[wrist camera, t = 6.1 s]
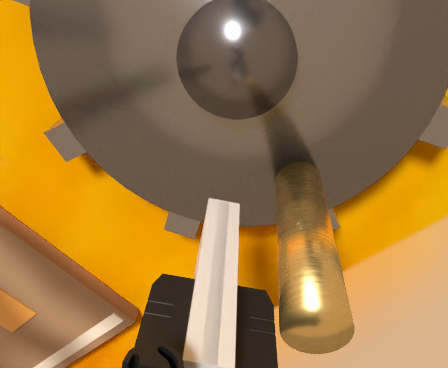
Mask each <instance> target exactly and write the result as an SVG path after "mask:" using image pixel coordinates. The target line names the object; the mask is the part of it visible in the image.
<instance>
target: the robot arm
mask: <svg viewBox="0 0 448 368" xmlns="http://www.w3.org/2000/svg"><path fill="white" fill-rule="evenodd" d="M239 210H240V204H239V203H233V202H228V201H223V200H218V199H212V198H209V199H208V204H207V210H206V215H205V220H204V225H203V230H202V235H201V240H200V245H199V251H198V256H197V262H196V268H195V274H194V279H190V278H185V277H179V276H173V275H167V274H162V275H161V276H160V277H159V278H158V279H157V280H156V281H155V282H154V283H153V285H152V287H151V291H150V294H149V298H148V302H147V305H146V308H145V312H144V315H143V319H142V322H141V326H140V329H139V333H138V336H137V340H136V343H135V347H134V348H132V349H131V350H130V351H129V352H128V353H127V355H126V357H125V358H124V360H123V363H122V368H278V363H277V350H276V336H275V324H274V308H273V303H272V302H271V300H270V298H269V296H268V294H267V292H266V291H265V290H259V289H253V288H247V287H242V286H237V278H238V244H239Z"/></svg>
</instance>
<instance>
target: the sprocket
mask: <svg viewBox="0 0 448 368" xmlns="http://www.w3.org/2000/svg"><path fill="white" fill-rule="evenodd" d="M13 1H16V2H19V3H22V4H25V5H28V6H30V19H31V27H32V34H33V42H34V46H35V50H36V54H37V58H38V62H39V66H40V70H41V73H42V75H43V78H44V80H45V83H46V86H47V88H48V91H49V94H50V96H51V98H52V100H53V102H54V104H55V106H56V108H57V110H58V111H59V113H60V115H61V117H62V119H60V120H59V121H57V122H56V123H55V124H54V125H53V126H52V127H50V128H49V129H48V130H47V131H46V132H45V133H44V134H45V135H46V136H47V138H48V139H49V140H50V142H51V143H52V144H53V145H54V147H55V148H56V149H57V151H58V152H59V153H60V154H61V156H62V157H63V158H64V160H65V161H66V162H67V161H69V160H71V159H73V158H75V157H78V156H80V155H82V154H84V153H86V152H87V153H88V154H89V156H90V157H91V158H92V159H93V160H94V161H95V162H96V163H97V164H98V165H99V166H100V167H101V168H102V169H103V170H105V171H106V172H107V173H108V174H109V175H110V176H111V177H113V178H114V179H115V180H116V181H118V182H119V183H120V184H122V185H123V186H124V187H125V188H127V189H128V190H130V191H132V192H133V193H135V194H136V195H138V196H140V197H141V198H143V199H144V200H146V201H148V202H150V203H152V204H154V205H156V206H158V207H160V208H162V209H164V210H167V211H169V214H168V218H167V221H166V224H165V228H164V230H167V231H170V232H173V233H176V234H180V235H183V236H186V237H189V238H193V239H195V236H196V233H197V230H198V228H199V225H200V222H201V221H202V222H204V220H205V215H206V210H207V204H208V199H209V198H212V199H218V200H223V201H228V202H233V203H239V204H240V210H239V226H263V225H274V224H276V225H277V259H278V293H279V326H280V334H281V337H282V339H283V340H284V341H285V342H286V343H287V344H288V345H289V346H290V347H292V348H294V349H296V350H298V351H301V352H305V353H311V354H323V353H329V352H333V351H336V350H338V349H340V348H342V347H343V346H345V345H346V344H347V343H348V342H349V341H350V340H351V339H352V337H353V334H354V324H353V319H352V315H351V310H350V306H349V301H348V297H347V292H346V288H345V283H344V279H343V274H342V270H341V265H340V261H339V256H338V252H337V247H336V243H335V238H334V234H333V230H334V229H337V228H340V226H339V222H338V218H337V214H336V210H335V206H337V205H339V204H341V203H343V202H345V201H347V200H349V199H350V198H352V197H354V196H356V195H358V194H359V193H360V192H362V191H363V190H365V189H366V188H368V187H369V186H371V185H372V184H374V183H375V182H376V181H378V180H379V179H380V178H381V177H382V176H383V175H385V174H386V173H387V172H388V171H389V170H390V169H391V168H393V167H394V166H395V165H396V164H397V163H398V162H399V161H400V160H401V159H402V157H403V156H404V155H405V154H406V153H407V152H408V151H409V150H410V149H411V148H412V147H413V145H414V144H415V143H416V141H417V140H421V141H424V142H427V143H429V144H432V145H435V146H438V147H441V148H444V149H446V147H447V146H448V99H447V98H445V97H444V96H445V93H446V91H447V88H448V0H13Z"/></svg>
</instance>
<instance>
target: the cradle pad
mask: <svg viewBox="0 0 448 368" xmlns="http://www.w3.org/2000/svg"><path fill="white" fill-rule="evenodd" d="M138 313H139V310H138V309H137V308H136V307H134V306H133V305H132V304H130V303H129V302H128V301H126V300H125V299H124V298H122V297H121V296H120V295H118V294H117V293H116V292H114V291H113V290H112V289H110V288H109V287H108V286H106V285H105V284H104V283H102V282H101V281H100V280H98V279H97V278H95V277H94V276H93V275H91V274H90V273H89V272H87V271H86V270H85V269H83V268H82V267H81V266H79V265H78V264H77V263H75V262H74V261H73V260H71V259H70V258H69V257H67V256H66V255H65V254H63V253H62V252H61V251H59V250H58V249H57V248H55V247H54V246H52V245H51V244H50V243H48V242H47V241H46V240H44V239H43V238H42V237H40V236H39V235H38V234H36V233H35V232H34V231H32V230H31V229H30V228H28V227H27V226H26V225H24V224H23V223H22V222H20V221H19V220H18V219H16V218H15V217H14V216H12V215H11V214H10V213H8V212H7V211H5V210H4V209H3V208H1V207H0V368H65V367H66V366H68V365H69V364H71V363H73V362H74V361H76V360H77V359H79V358H80V357H82V356H83V355H85V354H87V353H88V352H90V351H91V350H93V349H94V348H96V347H98V346H99V345H101V344H102V343H104V342H105V341H107V340H109V339H110V338H112V337H113V336H115V335H116V334H118V333H119V332H121V331H123V330H124V329H126V328H127V327H129V326H130V325H132V324H134V323H135V321H136V318H137V315H138Z"/></svg>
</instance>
